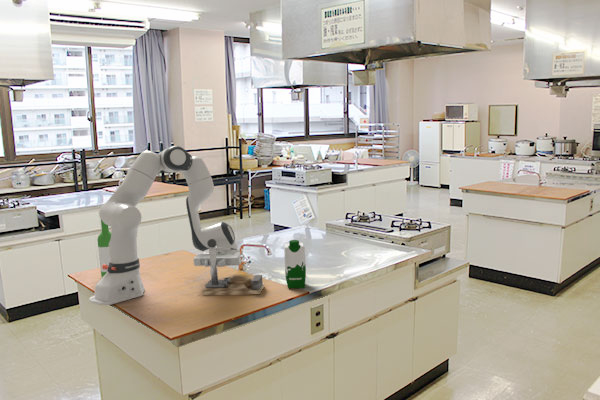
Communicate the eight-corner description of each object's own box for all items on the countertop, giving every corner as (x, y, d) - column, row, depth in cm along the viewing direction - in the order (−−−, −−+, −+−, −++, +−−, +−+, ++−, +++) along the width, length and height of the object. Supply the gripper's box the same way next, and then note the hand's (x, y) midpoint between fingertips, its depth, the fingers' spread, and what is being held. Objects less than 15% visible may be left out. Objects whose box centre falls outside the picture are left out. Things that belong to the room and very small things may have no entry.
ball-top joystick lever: (205, 289, 204) (201, 241, 201) (210, 284, 211) (207, 237, 208) (226, 289, 203) (223, 240, 200) (231, 283, 210) (227, 236, 207)
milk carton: (285, 289, 205) (283, 242, 202) (285, 283, 214) (283, 238, 211) (307, 288, 205) (304, 241, 202) (306, 282, 214) (304, 237, 211)
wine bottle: (108, 274, 240) (101, 213, 236) (122, 274, 238) (115, 213, 234) (97, 279, 233) (91, 216, 228) (112, 279, 231) (105, 216, 226)
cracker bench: (202, 294, 203) (201, 282, 203) (209, 287, 213) (208, 274, 212) (259, 294, 201) (259, 281, 200) (264, 286, 210) (263, 274, 210)
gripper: (198, 249, 220) (187, 257, 206) (243, 248, 217) (235, 257, 204) (199, 263, 221) (189, 272, 207) (244, 262, 218) (236, 272, 205)
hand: (212, 264), depth 205 cm, fingers open, 4 cm apart
